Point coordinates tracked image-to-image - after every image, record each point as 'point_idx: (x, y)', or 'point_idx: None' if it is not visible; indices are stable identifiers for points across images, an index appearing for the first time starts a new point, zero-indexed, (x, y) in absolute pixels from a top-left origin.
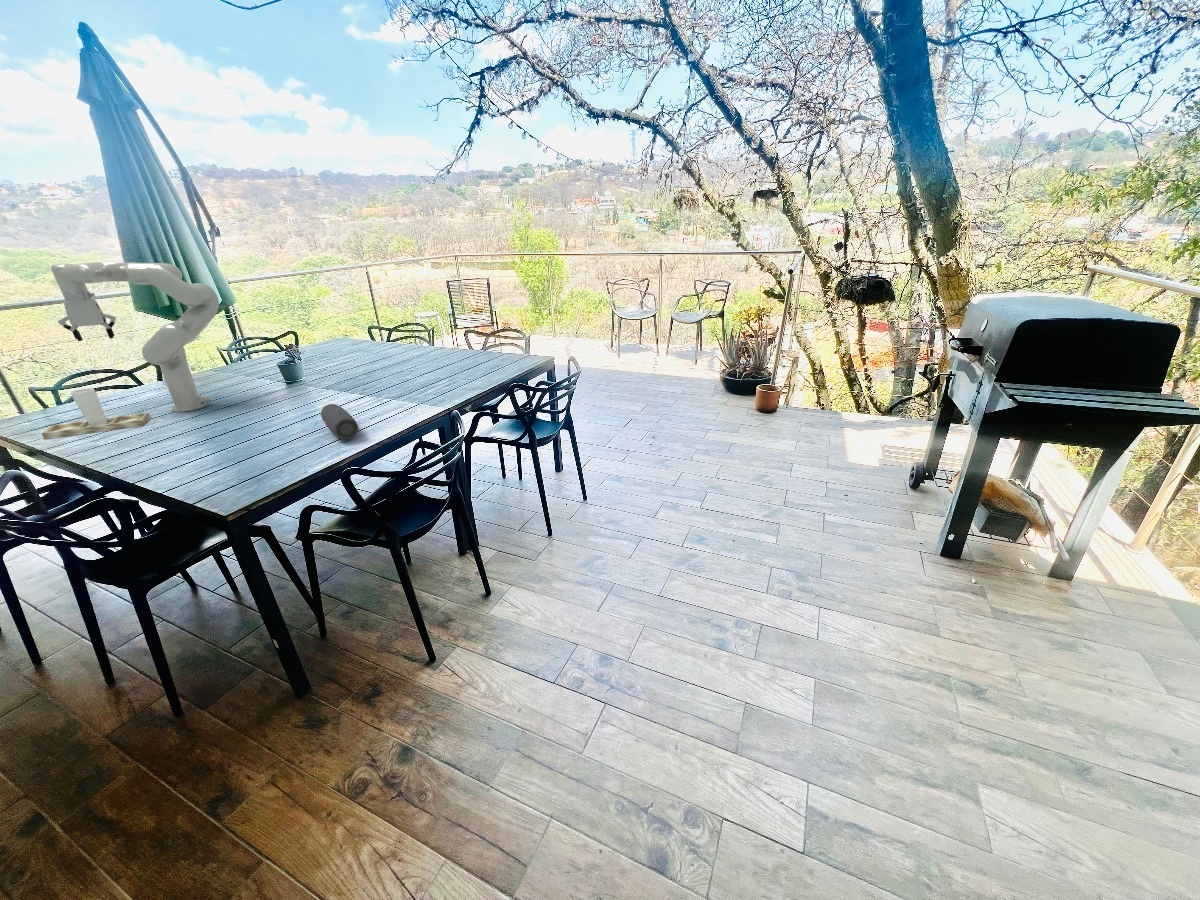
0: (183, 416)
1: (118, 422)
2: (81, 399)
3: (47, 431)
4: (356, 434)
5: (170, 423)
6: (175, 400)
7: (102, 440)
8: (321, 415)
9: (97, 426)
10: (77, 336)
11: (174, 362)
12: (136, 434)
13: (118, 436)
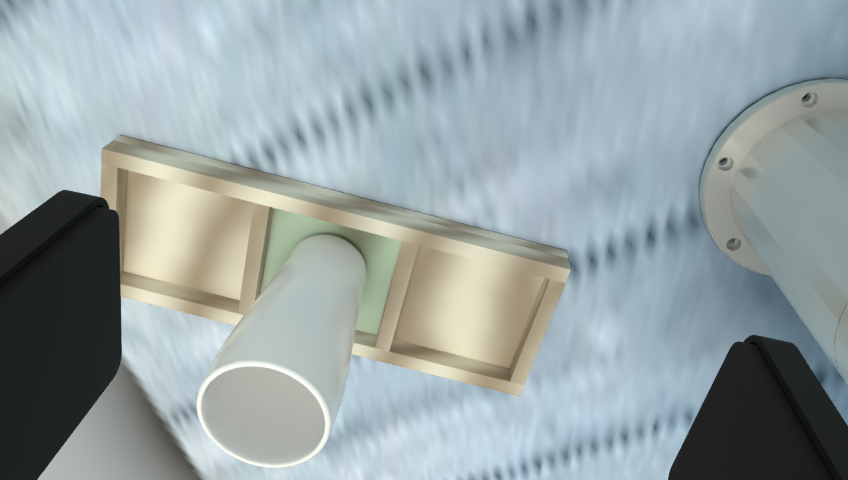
0: (711, 347)
1: (414, 273)
2: (265, 428)
3: None
4: None
5: (627, 421)
6: (758, 256)
7: (357, 459)
8: None
9: None
10: (37, 454)
11: None
12: (479, 475)
13: (413, 451)
